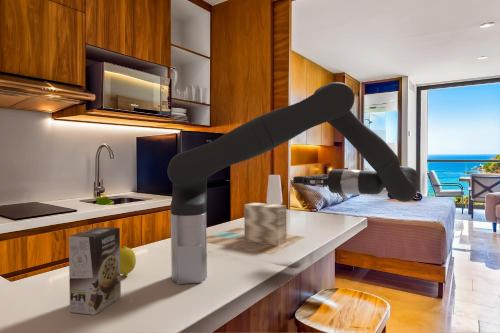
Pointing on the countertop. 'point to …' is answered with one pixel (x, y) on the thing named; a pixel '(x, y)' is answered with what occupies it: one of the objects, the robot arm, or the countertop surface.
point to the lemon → (127, 260)
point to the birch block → (265, 223)
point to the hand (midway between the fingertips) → (295, 179)
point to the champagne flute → (274, 190)
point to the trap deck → (234, 239)
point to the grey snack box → (94, 269)
